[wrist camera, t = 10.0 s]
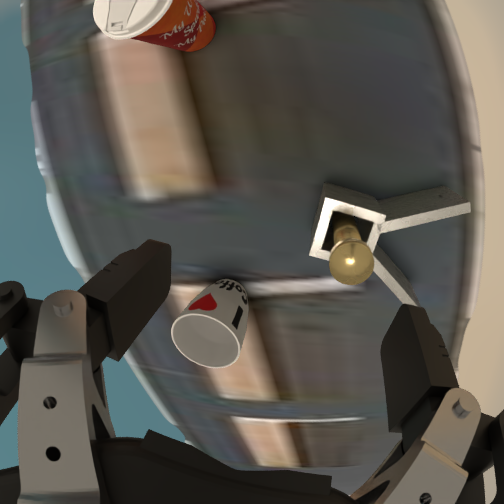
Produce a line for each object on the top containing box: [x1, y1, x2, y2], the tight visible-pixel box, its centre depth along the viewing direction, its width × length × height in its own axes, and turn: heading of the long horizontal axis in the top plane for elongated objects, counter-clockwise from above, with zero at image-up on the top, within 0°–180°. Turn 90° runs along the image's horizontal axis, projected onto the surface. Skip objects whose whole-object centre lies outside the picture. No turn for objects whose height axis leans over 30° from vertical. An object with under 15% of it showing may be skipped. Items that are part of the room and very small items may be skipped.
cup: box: [171, 279, 249, 368], centre depth 36 cm, size 8×8×10 cm
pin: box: [329, 210, 374, 285], centre depth 27 cm, size 3×3×13 cm
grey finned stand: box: [309, 182, 471, 307], centre depth 29 cm, size 14×14×7 cm
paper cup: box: [93, 0, 216, 52], centre depth 20 cm, size 8×8×14 cm
